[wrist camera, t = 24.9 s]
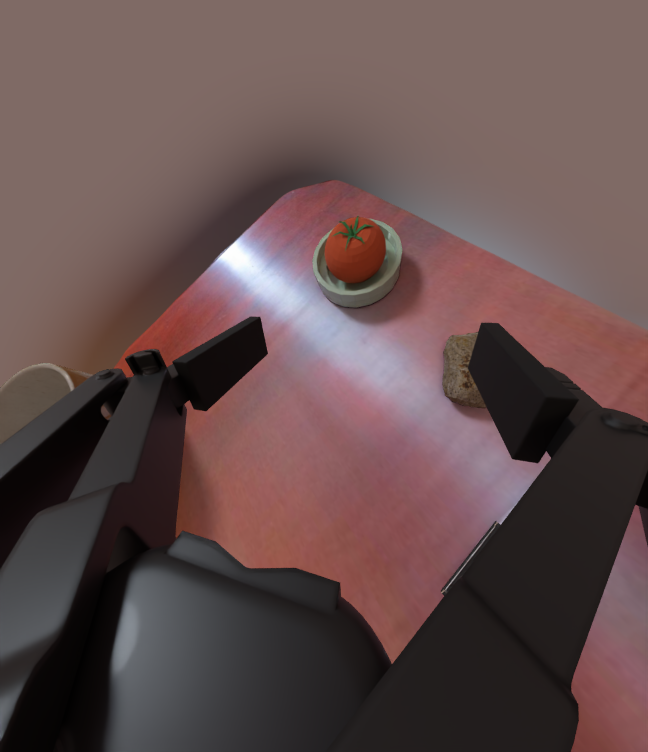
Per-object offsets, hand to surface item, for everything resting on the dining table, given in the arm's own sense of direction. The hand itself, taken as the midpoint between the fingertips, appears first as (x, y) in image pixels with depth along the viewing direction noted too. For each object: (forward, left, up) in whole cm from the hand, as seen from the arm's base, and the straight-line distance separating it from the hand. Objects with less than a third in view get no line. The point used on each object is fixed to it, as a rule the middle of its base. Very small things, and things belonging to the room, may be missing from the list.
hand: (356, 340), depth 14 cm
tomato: (+19, -15, -24) cm, 34 cm away
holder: (+19, -15, -25) cm, 34 cm away
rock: (-7, -13, -25) cm, 29 cm away
